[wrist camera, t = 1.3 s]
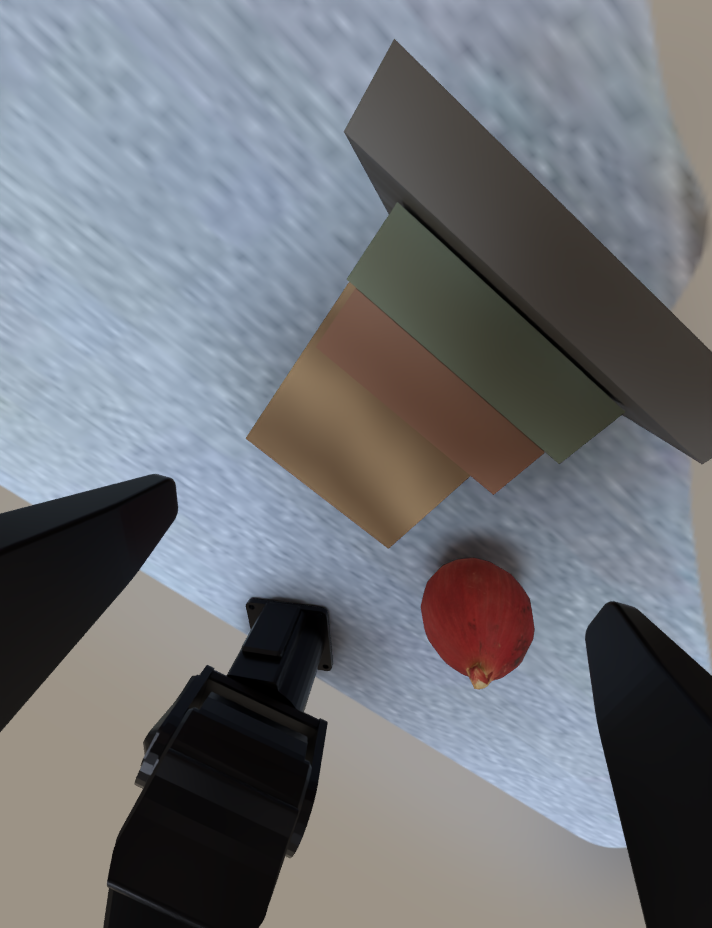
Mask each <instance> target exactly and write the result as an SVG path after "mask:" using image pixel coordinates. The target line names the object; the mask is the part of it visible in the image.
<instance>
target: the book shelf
mask: <svg viewBox="0 0 712 928" xmlns="http://www.w3.org/2000/svg"><path fill="white" fill-rule="evenodd" d="M344 133H345V135H346V136H347V138H348V140H349V142H350V144H351V146H352V147H353V149H354V151H355V153H356V155H357V157H358V158H359V160H360V162H361V164H362V166H363V168H364V169H365V171H366V173H367V175H368V177H369V179H370V180H371V182H372V184H373V186H374V188H375V190H376V191H377V193H378V195H379V197H380V199H381V201H382V202H383V204H384V206H385V208H386V210H387V212H388V213H389V216H388V217H387V219H386V220H385V222H384V223H383V225H382V226H381V228H380V229H379V231H378V232H377V234H376V235H375V237H374V238H373V240H372V241H371V243H370V244H369V246H368V248H367V249H366V251H365V252H364V254H363V255H362V257H361V258H360V260H359V261H358V263H357V264H356V266H355V267H354V269H353V270H352V272H351V273H350V275H349V276H348V278H347V280H348V281H349V283H348V285H347V286H346V288H345V289H344V291H343V292H342V294H341V295H340V297H339V298H338V300H337V301H336V303H335V304H334V306H333V307H332V309H331V310H330V312H329V313H328V315H327V316H326V318H325V319H324V321H323V322H322V324H321V325H320V327H319V328H318V330H317V331H316V333H315V334H314V336H313V337H312V339H311V340H310V342H309V343H308V345H307V346H306V348H305V349H304V351H303V352H302V354H301V355H300V357H299V358H298V360H297V362H296V363H295V365H294V366H293V368H292V369H291V371H290V372H289V374H288V375H287V377H286V378H285V380H284V381H283V383H282V384H281V386H280V387H279V389H278V390H277V392H276V393H275V395H274V396H273V398H272V399H271V401H270V402H269V404H268V405H267V407H266V408H265V410H264V411H263V413H262V414H261V416H260V417H259V419H258V420H257V422H256V423H255V425H254V426H253V428H252V429H251V431H250V432H249V434H248V435H247V437H246V439H247V440H248V441H250V442H251V443H252V444H253V445H255V446H256V447H257V448H259V449H260V450H261V451H262V452H264V453H265V454H266V455H268V456H269V457H270V458H272V459H273V460H274V461H275V462H277V463H278V464H279V465H281V466H282V467H283V468H284V469H286V470H287V471H288V472H290V473H291V474H292V475H294V476H295V477H296V478H297V479H299V480H300V481H301V482H303V483H304V484H305V485H306V486H308V487H309V488H310V489H312V490H313V491H314V492H316V493H317V494H318V495H319V496H321V497H322V498H323V499H325V500H326V501H327V502H328V503H330V504H331V505H332V506H334V507H335V508H336V509H338V510H339V511H340V512H341V513H343V514H344V515H345V516H347V517H348V518H349V519H350V520H352V521H353V522H354V523H356V524H357V525H358V526H360V527H361V528H362V529H363V530H365V531H366V532H367V533H369V534H370V535H371V536H372V537H374V538H375V539H376V540H378V541H379V542H380V543H382V544H383V545H384V546H385V547H387V548H388V549H389V548H390V547H391V546H392V545H393V544H394V543H396V542H397V541H398V540H399V539H400V538H401V537H402V536H403V535H405V534H406V533H407V532H408V531H409V530H410V529H411V528H412V527H414V526H415V525H416V524H417V523H418V522H419V521H420V520H421V519H423V518H424V517H425V516H426V515H427V514H428V513H429V512H430V511H432V510H433V509H434V508H435V507H436V506H437V505H438V504H439V503H441V502H442V501H443V500H444V499H445V498H446V497H447V496H448V495H450V494H451V493H452V492H453V491H454V490H455V489H456V488H457V487H459V486H460V485H461V484H462V483H463V482H464V481H465V480H466V479H468V478H469V477H470V476H471V477H473V478H474V479H475V480H476V481H477V482H479V483H480V484H481V485H482V486H483V487H485V488H486V489H487V490H488V491H489V492H491V493H492V494H493V495H494V494H495V493H496V492H498V491H499V490H500V489H501V488H503V487H504V486H505V485H506V484H507V483H509V482H510V481H511V480H512V479H513V478H515V477H516V476H517V475H518V474H519V473H521V472H522V471H523V470H524V469H526V468H527V467H528V466H529V465H530V464H532V463H533V462H534V461H535V460H536V459H538V458H539V457H540V456H541V455H543V454H544V453H545V452H546V453H547V454H548V455H549V456H550V457H552V458H553V459H554V460H555V461H556V462H557V463H558V464H560V463H562V462H563V461H564V460H565V459H567V458H568V457H569V456H570V455H572V454H573V453H574V452H575V451H577V450H578V449H579V448H580V447H582V446H583V445H584V444H586V443H587V442H588V441H589V440H591V439H592V438H593V437H594V436H596V435H597V434H598V433H599V432H601V431H602V430H603V429H605V428H606V427H607V426H608V425H610V424H611V423H612V422H613V421H615V420H616V419H617V418H618V417H620V416H621V415H624V416H625V417H627V418H628V419H630V420H632V421H633V422H635V423H636V424H638V425H640V426H641V427H643V428H644V429H646V430H648V431H649V432H651V433H653V434H654V435H656V436H657V437H659V438H661V439H662V440H664V441H665V442H667V443H669V444H670V445H672V446H673V447H675V448H677V449H678V450H680V451H682V452H683V453H685V454H686V455H688V456H690V457H691V458H693V459H694V460H696V461H698V462H699V463H701V464H704V463H705V462H707V461H708V460H710V459H711V458H712V352H711V351H710V350H709V349H708V348H707V347H706V346H705V345H704V344H703V343H702V342H701V341H700V340H699V339H698V338H697V337H696V336H695V335H694V334H693V333H692V332H691V331H690V330H689V329H688V328H687V327H686V326H685V325H684V324H683V323H682V322H681V321H680V320H679V319H678V318H677V317H676V316H675V315H674V314H673V313H672V312H671V311H670V310H669V309H668V308H667V307H666V306H665V305H664V304H663V303H662V302H661V301H660V300H659V299H658V298H657V297H656V296H655V295H654V294H653V293H652V292H651V291H650V290H649V289H648V288H646V287H645V286H644V285H643V284H642V283H641V282H640V281H639V280H638V279H637V278H636V277H635V276H634V275H633V274H632V273H631V272H630V271H629V270H628V269H627V268H626V267H625V266H624V265H623V264H622V263H621V262H620V261H619V260H618V259H617V258H616V257H615V256H614V255H613V254H612V253H611V252H610V251H609V250H608V249H607V248H606V247H605V246H604V245H603V244H602V243H601V242H600V241H599V240H598V239H597V238H596V237H595V236H594V235H593V234H592V233H591V232H590V231H589V230H588V229H587V228H586V227H585V226H584V225H583V224H582V223H581V222H580V221H579V220H578V219H577V218H576V217H575V216H574V215H573V214H571V213H570V212H569V211H568V210H567V209H566V208H565V207H564V206H563V205H562V204H561V203H560V202H559V201H558V200H557V199H556V198H555V197H554V196H553V195H552V194H551V193H550V192H549V191H548V190H547V189H546V188H545V187H544V186H543V185H542V184H541V183H540V182H539V181H538V180H537V179H536V178H535V177H534V176H533V175H532V174H531V173H530V172H529V171H528V170H527V169H526V168H525V167H524V166H523V165H522V164H521V163H520V162H519V161H518V160H517V159H516V158H515V157H514V156H513V155H512V154H511V153H510V152H509V151H508V150H507V149H506V148H505V147H504V146H503V145H502V144H501V143H500V142H499V141H498V140H496V139H495V138H494V137H493V136H492V135H491V134H490V133H489V132H488V131H487V130H486V129H485V128H484V127H483V126H482V125H481V124H480V123H479V122H478V121H477V120H476V119H475V118H474V117H473V116H472V115H471V114H470V113H469V112H468V111H467V110H466V109H465V108H464V107H463V106H462V105H461V104H460V103H459V102H458V101H457V100H456V99H455V98H454V97H453V96H452V95H451V94H450V93H449V92H448V91H447V90H446V89H445V88H444V87H443V86H442V85H441V84H440V83H439V82H438V81H437V80H436V79H435V78H434V77H433V76H432V75H431V74H430V73H429V72H428V71H427V70H426V69H425V68H424V67H423V66H421V65H420V64H419V63H418V62H417V61H416V60H415V59H414V58H413V57H412V56H411V55H410V54H409V53H408V52H407V51H406V50H405V49H404V48H403V47H402V46H401V45H400V44H399V43H398V42H397V41H396V40H395V39H394V40H393V42H392V44H391V46H390V48H389V50H388V51H387V53H386V55H385V57H384V59H383V61H382V62H381V64H380V66H379V68H378V70H377V72H376V73H375V75H374V77H373V79H372V81H371V83H370V84H369V86H368V88H367V90H366V92H365V94H364V96H363V97H362V99H361V101H360V103H359V105H358V107H357V108H356V110H355V112H354V114H353V116H352V118H351V119H350V121H349V123H348V125H347V127H346V129H345V130H344ZM544 451H545V452H544Z"/></svg>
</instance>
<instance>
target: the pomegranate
mask: <svg viewBox="0 0 712 928" xmlns="http://www.w3.org/2000/svg"><path fill="white" fill-rule="evenodd" d="M421 612H422V618H423V623H424V629H425V632H426V635H427V638H428V640H429V642H430V643H431V644H432V646H433V647H434V648H435V650H436V651H437V653H438V654H439V655H440V657H441V658H442V659H443V660H444V661H445V663H446V664H448V665H449V666H450V667H452V668H453V669H455V670H457V671H458V672H460V673H461V674H463V675H465V676H468V677H469V678H470V680H471V682H472V684H473V686H474V689H483V688H485V687H487V686H488V685H489V684H490V682H491V681H493V680H497V679H500V678H503V677H504V676H505V675H507V674H508V673H510V672H511V671H513V670H514V669H515V668H517V667H518V666H519V665H520V663H521V662H522V660H523V658H524V656H525V654H526V652H527V650H528V648H529V646H530V645H531V643H532V641H533V637H534V630H535V629H534V622H533V615H532V609H531V603H530V598H529V597H528V595H527V594H526V592H525V590H524V589H523V588H522V586H521V585H520V584H519V583H518V582H517V581H516V579H515V578H514V577H513V576H512V575H511V574H510V573H508V572H506V571H505V570H503V569H501V568H500V567H498V566H496V565H495V564H493V563H491V562H489V561H485V560H481V559H477V558H466V559H457V560H454V561H452V562H450V563H447V564H445V565H443V566H442V567H441V568H440V569H439V570H438V571H437V572H436V573H435V574H434V575H433V576H432V577H431V578H430V579H429V581H428V582H427V584H426V588H425V591H424V594H423V598H422V603H421Z"/></svg>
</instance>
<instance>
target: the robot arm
mask: <svg viewBox="0 0 712 928" xmlns="http://www.w3.org/2000/svg"><path fill="white" fill-rule="evenodd" d="M177 513H178V501H177V492H176V484H175V482H174V480H173V479H172V478H169V477H166V476H162V475H159V474H151V475H147V476H143V477H139V478H136V479H132V480H128V481H124V482H120V483H116V484H112V485H109V486H105V487H101V488H97V489H93V490H89V491H85V492H82V493H78V494H74V495H70V496H66V497H62V498H59V499H55V500H51V501H47V502H43V503H39V504H35V505H32V506H28V507H24V508H20V509H17V510H13V511H9V512H5V513H1V514H0V732H1V731H2V729H3V728H4V727H5V726H6V725H7V724H8V723H9V721H10V720H11V719H12V718H13V717H14V715H16V713H17V712H18V711H19V710H20V709H21V708H22V706H23V705H24V704H25V703H26V702H27V701H28V699H29V698H30V697H31V696H32V695H33V694H34V692H35V691H36V690H37V689H38V688H39V687H40V685H41V684H42V683H43V682H44V681H45V680H46V679H47V678H48V676H49V675H50V674H51V673H52V672H53V671H54V669H55V668H56V667H57V666H58V665H59V663H60V662H61V661H62V660H63V659H64V658H65V657H66V656H67V654H68V653H69V652H70V651H71V650H72V649H73V647H74V646H75V645H76V644H77V642H79V640H80V639H81V638H82V637H83V636H84V634H85V633H86V632H87V631H88V630H89V629H90V628H91V626H92V625H93V624H94V623H95V622H96V621H97V620H98V618H99V617H100V616H101V615H102V614H103V613H104V611H105V610H106V609H107V608H108V607H109V606H110V605H111V603H112V602H113V601H114V600H115V599H116V598H117V596H118V595H119V594H120V593H121V592H122V591H123V589H124V588H125V587H126V586H127V585H128V584H129V582H130V581H131V580H132V579H133V577H134V576H135V575H136V573H137V572H138V571H139V570H140V568H141V567H142V565H143V564H144V563H145V561H146V560H147V558H148V557H149V555H150V554H151V553H152V551H153V550H154V548H155V547H156V546H157V544H158V543H159V541H160V540H161V538H162V537H163V536H164V534H165V533H166V531H167V530H168V529H169V527H170V526H171V524H172V523H173V521H174V520H175V518H176V516H177ZM246 610H247V614H248V619H249V623H250V628H251V631H250V633H249V634H248V636H247V638H246V640H245V642H244V644H243V645H242V648H241V650H240V652H239V654H238V656H237V658H236V659H235V661H234V663H233V665H232V667H231V669H230V670H229V672H228V674H227V676H226V675H224V674H221V673H220V672H218V671H215V670H214V668H213V667H211V666H209V665H207V666H206V667H205V668H204V670H203V671H202V672H201V674H200V675H196V676H192V677H191V678H190V680H189V681H188V683H187V684H186V686H185V688H184V689H183V691H182V692H181V694H180V695H179V697H178V698H177V700H176V701H175V702H174V703H173V705H172V706H171V707H170V708H169V709H168V711H167V712H166V713H165V714H164V715H163V716H162V718H161V719H160V720H159V721H158V722H157V723H156V725H155V726H154V727H153V728H152V729H151V730H150V732H149V733H148V735H147V736H146V738H145V740H144V742H143V745H144V754H145V756H144V758H143V760H142V763H141V769H140V770H139V773H138V775H137V777H136V780H135V785H136V786H138V787H140V788H142V789H143V790H142V792H141V794H140V796H139V797H138V799H137V801H136V803H135V805H134V807H133V809H132V810H131V812H130V814H129V816H128V817H127V819H126V821H125V823H124V825H123V827H122V828H121V830H120V832H119V835H118V837H117V839H116V844H115V847H114V850H113V854H112V859H111V864H110V869H109V875H108V880H107V887H109V892H108V899H107V906H106V913H105V920H104V928H259V926H260V925H261V924H262V922H263V920H264V918H265V916H266V912H267V908H268V905H269V902H270V900H271V897H272V894H273V891H274V888H275V885H276V882H277V879H278V876H279V873H280V870H281V867H282V864H283V861H284V858H285V856H286V857H288V858H291V857H293V855H294V854H295V852H296V850H297V848H298V846H299V844H300V842H301V839H302V837H303V835H304V832H305V829H306V827H307V823H308V820H309V817H310V814H311V811H312V807H313V804H314V800H315V795H316V791H317V786H318V780H319V773H320V767H321V761H322V755H323V748H324V742H325V736H326V729H327V721H325V720H323V719H321V718H320V719H317V718H315V717H313V716H310V715H308V714H306V713H304V710H305V707H306V703H307V700H308V697H309V694H310V691H311V688H312V684H313V681H314V678H315V675H316V672H317V670H324V671H330V670H331V669H332V665H333V658H332V648H331V638H330V628H329V618H328V611H327V610H326V609H325V608H322V607H316V606H308V605H300V604H292V603H284V602H276V601H268V600H260V599H249V600H248V602H247V604H246ZM321 614H322V615H321ZM585 641H586V649H587V656H588V663H589V670H590V678H591V685H592V692H593V699H594V706H595V713H596V719H597V724H598V729H599V734H600V738H601V742H602V747H603V751H604V755H605V759H606V763H607V767H608V771H609V775H610V780H611V784H612V788H613V792H614V796H615V800H616V804H617V808H618V813H619V817H620V821H621V825H622V829H623V833H624V837H625V841H626V846H627V850H628V853H629V858H630V862H631V866H632V870H633V874H634V878H635V883H636V886H637V890H638V895H639V899H640V903H641V907H642V912H643V915H644V920H645V924H646V928H712V676H711V675H710V674H709V673H708V672H707V671H706V670H705V669H704V668H703V667H701V666H700V665H699V664H698V663H697V662H696V661H695V660H694V659H693V658H691V657H690V656H689V655H688V654H687V653H686V652H685V651H684V650H683V649H681V648H680V647H679V646H678V645H677V644H676V643H675V642H674V641H673V640H671V639H670V638H669V637H668V636H667V635H666V634H665V633H664V632H662V631H661V630H660V629H659V628H658V627H657V626H656V625H655V624H654V623H652V622H651V621H650V620H649V619H648V618H647V617H646V616H645V615H644V614H642V613H641V612H640V611H639V610H638V609H636V608H635V607H632V606H629V605H626V604H622V603H619V602H615V601H610V602H608V603H606V604H605V605H604V606H603V608H602V609H601V610H600V611H599V613H598V614H597V615H596V617H595V618H594V619H593V621H592V622H591V623H590V624H589V626H588V628H587V630H586V634H585Z"/></svg>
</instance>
